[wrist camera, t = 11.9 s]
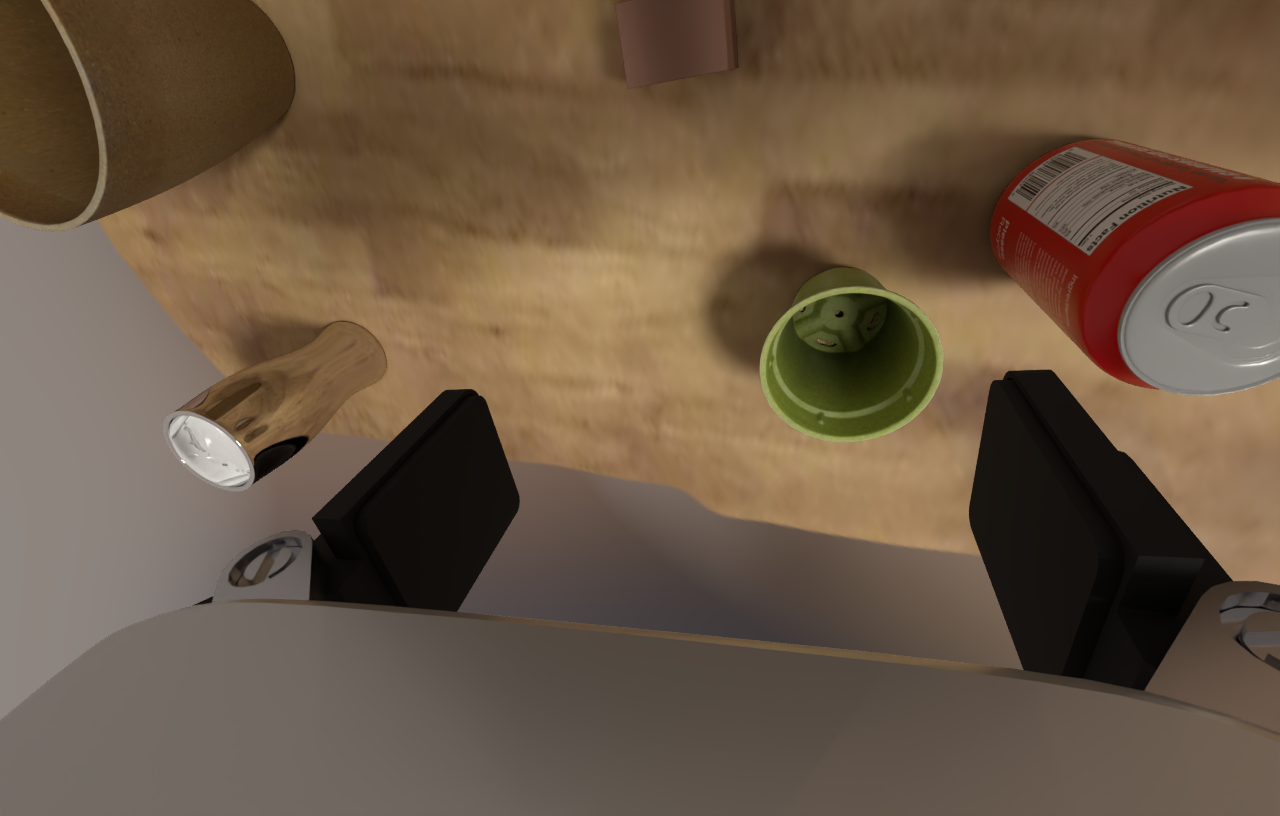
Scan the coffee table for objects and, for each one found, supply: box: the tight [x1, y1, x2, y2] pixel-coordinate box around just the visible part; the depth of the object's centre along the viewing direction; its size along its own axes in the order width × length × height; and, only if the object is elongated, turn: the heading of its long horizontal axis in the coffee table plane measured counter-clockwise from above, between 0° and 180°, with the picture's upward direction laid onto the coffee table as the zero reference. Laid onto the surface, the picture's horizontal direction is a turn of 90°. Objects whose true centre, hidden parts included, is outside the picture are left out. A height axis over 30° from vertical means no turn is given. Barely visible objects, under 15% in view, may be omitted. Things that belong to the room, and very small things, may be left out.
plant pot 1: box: [0, 0, 294, 231], centre depth 31 cm, size 15×15×16 cm
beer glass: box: [163, 321, 387, 492], centre depth 43 cm, size 7×7×15 cm
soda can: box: [990, 139, 1280, 396], centre depth 25 cm, size 8×8×15 cm
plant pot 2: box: [759, 267, 943, 442], centre depth 34 cm, size 9×9×9 cm
